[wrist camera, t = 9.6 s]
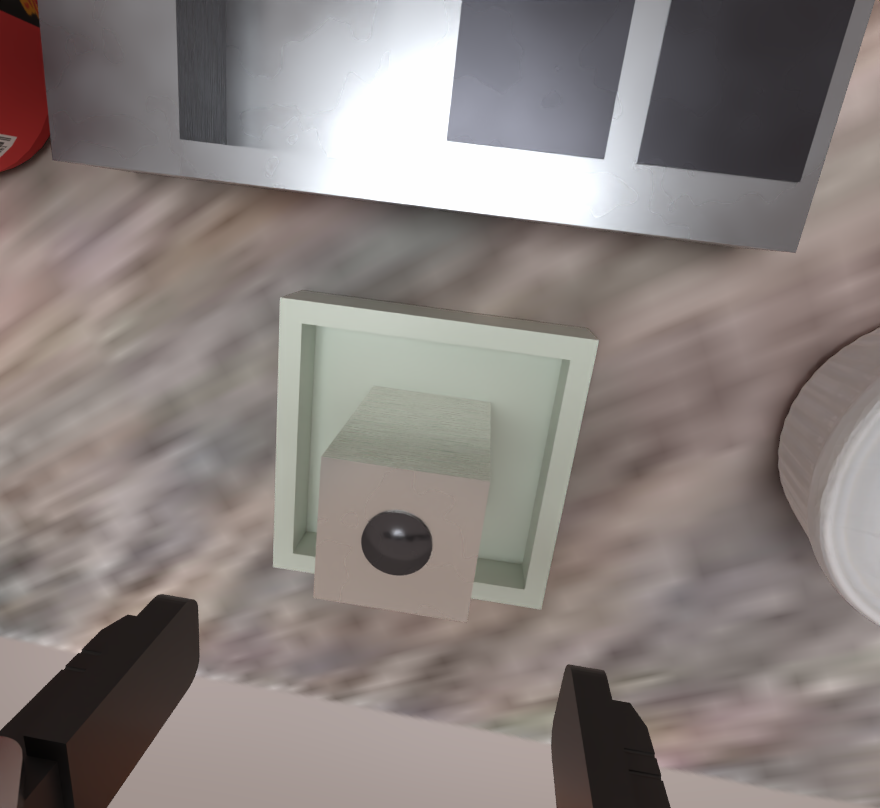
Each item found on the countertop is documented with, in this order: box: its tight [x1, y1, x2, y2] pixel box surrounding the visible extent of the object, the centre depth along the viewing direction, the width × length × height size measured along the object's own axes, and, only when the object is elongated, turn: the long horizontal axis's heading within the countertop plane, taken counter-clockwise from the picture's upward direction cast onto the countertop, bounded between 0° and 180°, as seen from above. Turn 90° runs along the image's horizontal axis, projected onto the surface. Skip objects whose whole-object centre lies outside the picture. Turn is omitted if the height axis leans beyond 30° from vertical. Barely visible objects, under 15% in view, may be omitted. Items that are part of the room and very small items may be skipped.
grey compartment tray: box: [37, 0, 875, 253], centre depth 17 cm, size 22×8×4 cm, turn 83°
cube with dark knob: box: [313, 386, 491, 623], centre depth 19 cm, size 5×5×7 cm
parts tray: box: [273, 290, 599, 610], centre depth 22 cm, size 11×11×2 cm
